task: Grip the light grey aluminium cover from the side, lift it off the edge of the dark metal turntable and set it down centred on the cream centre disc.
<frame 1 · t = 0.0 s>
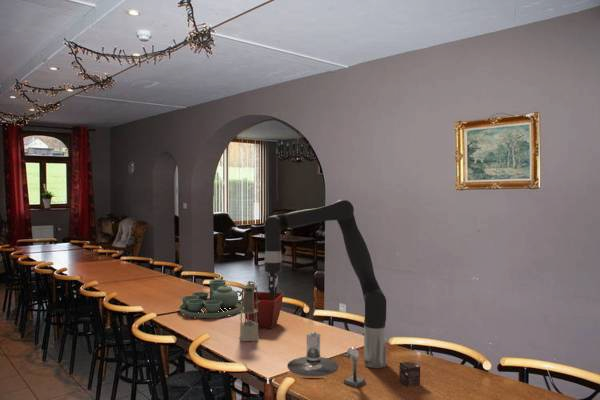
hand: (273, 297, 203), 29 cm above the table, tool pointing down, fingers open, 8 cm apart
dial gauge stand: (354, 383, 182), on the table
tea set: (211, 311, 291), on the table
plant pot: (262, 325, 259), on the table
lamp: (250, 339, 235), on the table
turntable: (312, 367, 196), point 1 cm above the table, hinge at 0.0°, touching cover
box: (409, 383, 183), on the table
cover: (313, 359, 203), point 1 cm above the table, touching turntable
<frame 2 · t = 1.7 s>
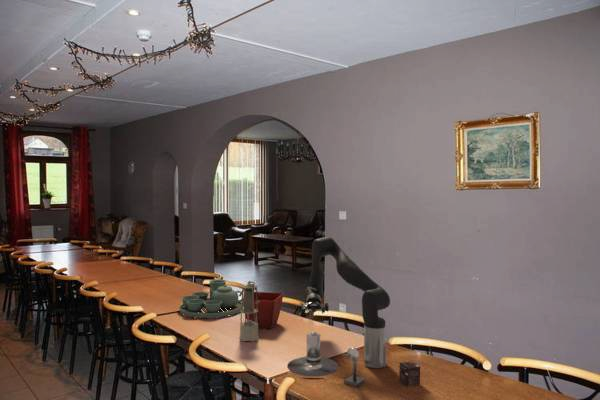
hand: (313, 311, 214), 20 cm above the table, tool horizontal, fingers open, 8 cm apart
nothing on the table moved.
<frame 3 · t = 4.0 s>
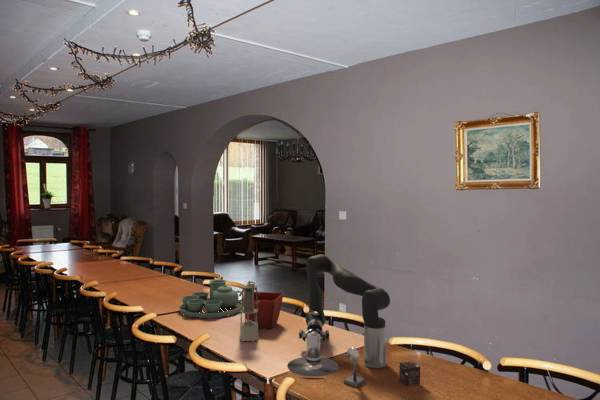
hand: (313, 339, 209), 8 cm above the table, tool horizontal, fingers open, 8 cm apart
nothing on the table moved.
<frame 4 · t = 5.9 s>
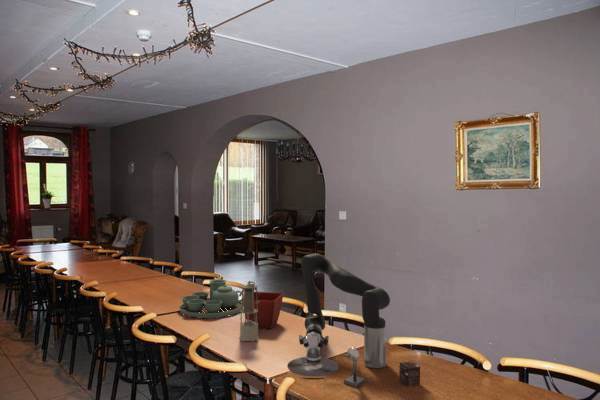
hand: (313, 345, 201), 9 cm above the table, tool horizontal, fingers closed on cover, 6 cm apart
cover: (313, 359, 203), point 1 cm above the table, touching gripper, turntable
everything else where it was.
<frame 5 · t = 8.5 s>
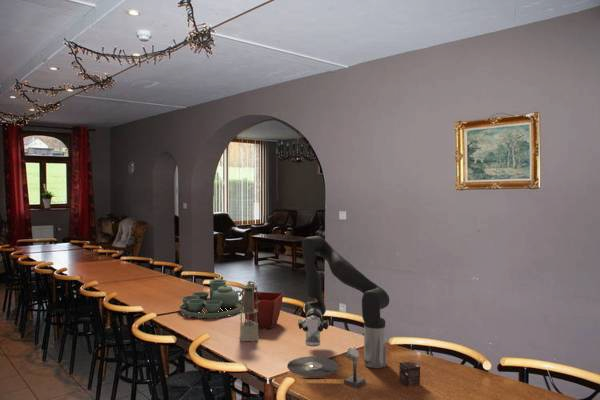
hand: (312, 329, 194), 18 cm above the table, tool horizontal, fingers closed on cover, 6 cm apart
turntable: (312, 367, 196), point 1 cm above the table, hinge at 0.0°
cover: (312, 343, 196), point 11 cm above the table, touching gripper
everything else where it was.
when the fingers open (10 cm above the table, at t = 11.1 s): cover stays where it is, resting on turntable.
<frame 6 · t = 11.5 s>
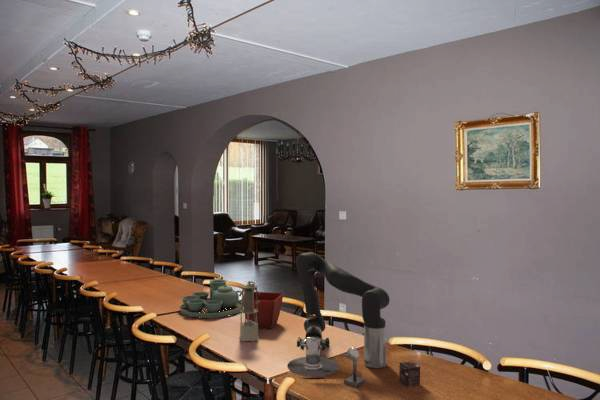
hand: (312, 348, 194), 10 cm above the table, tool horizontal, fingers open, 8 cm apart
turntable: (312, 367, 196), point 1 cm above the table, hinge at 0.0°, touching cover
cover: (312, 365, 196), point 2 cm above the table, touching turntable
everything else where it was.
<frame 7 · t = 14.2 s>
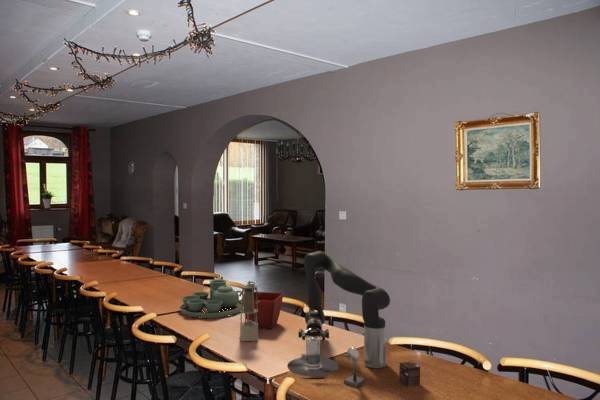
hand: (313, 338, 206), 10 cm above the table, tool horizontal, fingers open, 8 cm apart
nothing on the table moved.
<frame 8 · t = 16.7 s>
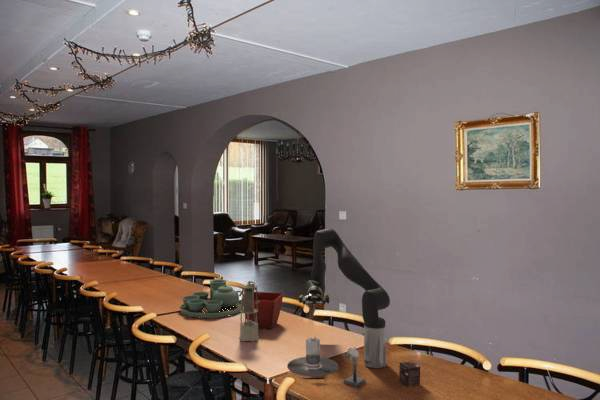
hand: (313, 302, 210), 25 cm above the table, tool horizontal, fingers open, 8 cm apart
nothing on the table moved.
at the end: cover 0.1 cm from the turntable (horizontally); cover tilted 0°; the gripper is holding nothing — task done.
